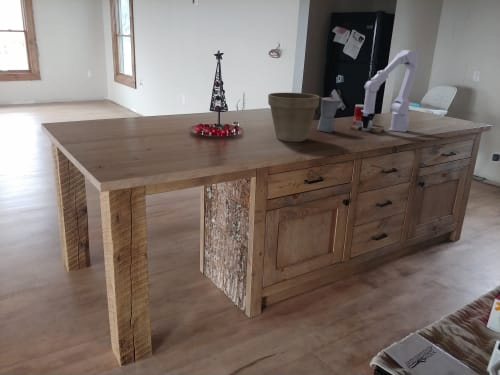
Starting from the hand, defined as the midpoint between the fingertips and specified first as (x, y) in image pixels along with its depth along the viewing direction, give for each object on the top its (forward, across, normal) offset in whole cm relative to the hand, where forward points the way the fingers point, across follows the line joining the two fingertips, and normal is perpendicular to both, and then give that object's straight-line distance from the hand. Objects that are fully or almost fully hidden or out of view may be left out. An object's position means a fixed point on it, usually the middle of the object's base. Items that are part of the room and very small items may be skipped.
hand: (366, 127), depth 254 cm
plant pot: (+2, +49, -26) cm, 55 cm away
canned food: (+2, -18, -8) cm, 20 cm away
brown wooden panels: (+2, -2, 0) cm, 2 cm away
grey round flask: (+2, 0, -2) cm, 2 cm away
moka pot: (+2, +18, -18) cm, 26 cm away
